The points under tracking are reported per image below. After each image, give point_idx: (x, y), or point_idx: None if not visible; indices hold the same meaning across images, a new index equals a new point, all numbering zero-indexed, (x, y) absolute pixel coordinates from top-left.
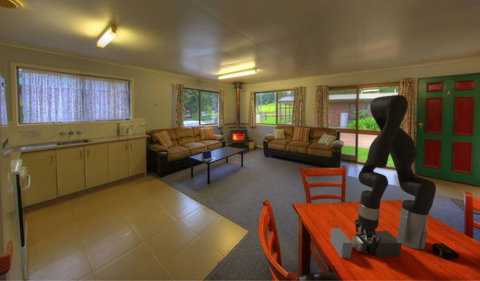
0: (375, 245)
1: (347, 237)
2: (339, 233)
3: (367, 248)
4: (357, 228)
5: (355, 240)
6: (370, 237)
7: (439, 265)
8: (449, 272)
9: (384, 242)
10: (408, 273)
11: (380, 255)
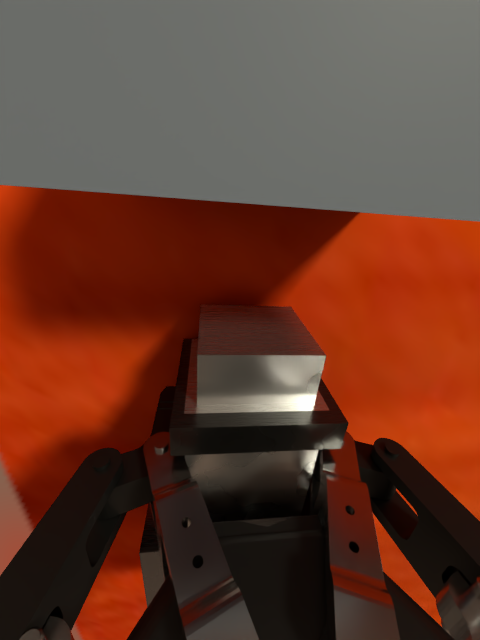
0: (98, 517)
1: (227, 195)
2: (423, 43)
3: (172, 406)
4: (409, 496)
5: (255, 353)
6: (255, 521)
7: (127, 604)
8: (90, 611)
9: (150, 596)
10: (39, 495)
11: None
